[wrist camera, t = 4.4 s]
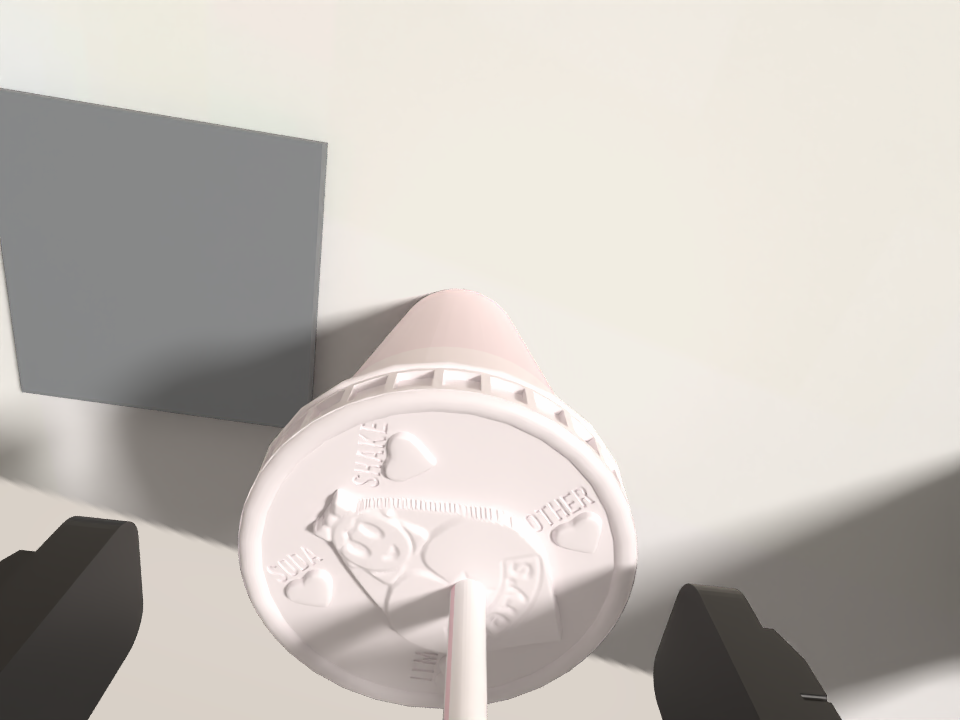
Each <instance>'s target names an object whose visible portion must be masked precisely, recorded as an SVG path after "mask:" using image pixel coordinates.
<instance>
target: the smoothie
mask: <svg viewBox="0 0 960 720" xmlns="http://www.w3.org/2000/svg"><path fill="white" fill-rule="evenodd" d="M637 555H638V549H637V535H636V530H635V524H634V519H633V516H632V513H631V510H630V507H629V502H628V499H627V495H626V492H625V489H624V485H623V482H622V478H621V475H620V472H619V468H618V465H617V462H616V461H615V459H614V458H613V456H612V455H611V453H610V452H609V450H608V449H607V447H606V446H605V444H604V443H603V441H602V440H601V438H600V437H599V436H598V434H597V433H596V431H595V430H594V428H593V427H592V425H591V424H590V423H589V422H588V421H586V420H585V419H584V418H583V417H581V416H580V415H579V414H578V413H577V412H575V411H574V410H573V409H572V408H571V407H569V406H568V405H567V404H566V403H564V402H563V401H562V400H561V399H560V398H558V397H557V396H556V395H555V394H554V392H553V390H552V388H551V387H550V385H549V383H548V382H547V380H546V378H545V377H544V375H543V373H542V371H541V370H540V368H539V366H538V365H537V363H536V361H535V360H534V358H533V356H532V355H531V353H530V351H529V349H528V348H527V346H526V344H525V343H524V341H523V339H522V338H521V336H520V334H519V333H518V331H517V329H516V327H515V326H514V324H513V322H512V321H511V319H510V317H509V316H508V314H507V313H506V312H505V310H504V309H503V308H502V307H501V306H500V305H499V304H497V303H496V302H495V301H493V300H492V299H490V298H489V297H487V296H485V295H483V294H481V293H478V292H475V291H471V290H465V289H448V290H442V291H438V292H435V293H432V294H430V295H428V296H426V297H425V298H423V299H421V300H420V301H419V302H417V303H416V304H415V305H414V306H413V307H412V308H411V309H410V310H409V311H408V312H407V314H406V315H405V316H404V317H403V318H402V319H401V321H400V322H399V323H398V324H397V325H396V326H395V328H394V329H393V330H392V331H391V332H390V333H389V335H388V336H387V337H386V338H385V339H384V340H383V342H382V343H381V344H380V345H379V346H378V347H377V349H376V350H375V351H374V352H373V353H372V354H371V356H370V357H369V358H368V359H367V360H366V361H365V363H364V364H363V365H362V366H361V367H360V369H359V370H358V371H357V372H356V373H355V374H354V376H353V377H352V378H350V379H347V380H344V381H342V382H340V383H339V384H337V385H336V386H334V387H333V388H331V389H330V390H328V391H327V392H325V393H323V394H322V395H320V396H319V397H317V398H316V399H314V400H313V401H311V402H310V403H308V404H306V405H305V406H303V407H302V408H301V409H300V410H299V411H298V412H297V413H296V414H295V416H294V417H293V418H292V419H291V420H290V422H289V423H288V424H287V425H286V426H285V427H284V429H283V430H282V431H281V432H280V433H279V434H278V436H277V437H276V438H275V439H274V440H273V441H272V443H271V444H270V446H269V449H268V451H267V453H266V456H265V458H264V461H263V463H262V465H261V468H260V470H259V473H258V475H257V477H256V480H255V482H254V483H253V485H252V487H251V489H250V491H249V494H248V496H247V499H246V501H245V504H244V507H243V511H242V515H241V519H240V525H239V533H238V556H239V563H240V570H241V574H242V578H243V582H244V585H245V588H246V590H247V593H248V596H249V598H250V600H251V602H252V604H253V606H254V608H255V610H256V612H257V614H258V615H259V617H260V618H261V620H262V621H263V623H264V624H265V626H266V627H267V628H268V630H269V631H270V632H271V633H272V634H273V636H274V637H275V638H276V639H277V640H278V641H279V642H280V643H281V644H282V645H283V647H285V649H286V650H287V651H288V652H289V653H291V654H292V655H293V656H294V657H296V658H297V659H298V660H299V661H301V662H302V663H303V664H305V665H306V666H307V667H308V668H310V669H311V670H312V671H314V672H315V673H317V674H319V675H321V676H323V677H324V678H326V679H328V680H330V681H332V682H334V683H335V684H337V685H339V686H341V687H343V688H345V689H348V690H351V691H354V692H356V693H359V694H362V695H364V696H367V697H370V698H373V699H376V700H380V701H385V702H391V703H395V704H400V705H405V706H411V707H425V708H426V707H427V708H442V709H444V710H443V720H487V704H489V703H494V702H498V701H503V700H508V699H511V698H514V697H517V696H519V695H522V694H525V693H527V692H530V691H532V690H535V689H538V688H540V687H542V686H544V685H546V684H548V683H549V682H551V681H553V680H555V679H557V678H558V677H560V676H562V675H563V674H565V673H567V672H569V671H570V670H571V669H572V668H574V667H575V666H576V665H578V664H579V663H580V662H582V661H583V660H584V659H585V658H586V657H587V656H589V655H590V654H591V653H592V652H593V651H594V650H595V649H596V648H597V647H598V646H599V645H600V644H601V642H602V641H603V640H604V639H605V638H606V637H607V635H608V634H609V633H610V631H611V630H612V629H613V627H614V626H615V624H616V623H617V621H618V619H619V618H620V616H621V614H622V612H623V611H624V608H625V606H626V604H627V602H628V599H629V597H630V594H631V590H632V587H633V584H634V579H635V574H636V569H637Z"/></svg>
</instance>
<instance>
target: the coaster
mask: <svg viewBox="0 0 960 720" xmlns="http://www.w3.org/2000/svg"><path fill="white" fill-rule="evenodd" d="M327 147H328V143H325V142H319V141H313V140H307V139H301V138H295V137H289V136H283V135H277V134H271V133H266V132H260V131H254V130H248V129H242V128H236V127H230V126H224V125H218V124H212V123H206V122H200V121H194V120H188V119H182V118H176V117H170V116H164V115H158V114H152V113H146V112H140V111H134V110H128V109H122V108H117V107H111V106H105V105H99V104H93V103H87V102H81V101H75V100H69V99H63V98H57V97H51V96H45V95H39V94H33V93H27V92H21V91H15V90H9V89H3V88H0V240H1V247H2V254H3V261H4V268H5V276H6V283H7V290H8V297H9V304H10V311H11V318H12V325H13V332H14V339H15V346H16V353H17V360H18V367H19V375H20V382H21V389H22V392H26V393H33V394H40V395H47V396H55V397H62V398H69V399H77V400H84V401H91V402H99V403H106V404H113V405H120V406H128V407H135V408H142V409H150V410H157V411H164V412H172V413H179V414H186V415H193V416H201V417H208V418H215V419H223V420H230V421H237V422H245V423H252V424H259V425H266V426H274V427H281V428H284V427H285V426H286V425H287V424H288V423H289V422H290V420H291V419H292V418H293V417H294V416H295V414H296V413H297V412H298V411H299V410H300V409H301V408H302V407H303V406H305V405H306V404H308V403H310V402H311V401H312V392H313V375H314V359H315V343H316V326H317V310H318V294H319V277H320V261H321V245H322V228H323V212H324V196H325V179H326V163H327Z"/></svg>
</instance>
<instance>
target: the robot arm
mask: <svg viewBox="0 0 960 720" xmlns="http://www.w3.org/2000/svg"><path fill="white" fill-rule="evenodd" d="M142 613H143V594H142V580H141V566H140V552H139V539H138V531H137V527H136V526H135V524H134V523H133V522H127V521H119V520H110V519H101V518H91V517H82V516H74V517H71V518H69V519H68V520H66V521H65V522H64V523H63V524H62V525H61V526H60V527H59V528H58V529H57V530H56V531H55V532H54V533H53V534H52V535H51V536H50V537H49V538H48V539H47V540H46V541H45V542H44V544H43V545H42V546H41V547H40V548H39V549H38V550H37V551H36V552H34V551H25V550H19V551H17V552H16V553H14V554H12V555H11V556H9V557H7V558H5V559H3V560H2V561H1V562H0V720H88V719H89V717H90V715H91V714H92V712H93V710H94V709H95V707H96V705H97V704H98V702H99V701H100V699H101V697H102V696H103V694H104V692H105V691H106V689H107V687H108V686H109V684H110V683H111V681H112V679H113V678H114V676H115V674H116V673H117V671H118V670H119V668H120V666H121V665H122V663H123V661H124V660H125V658H126V657H127V655H128V653H129V651H130V650H131V648H132V646H133V644H134V641H135V639H136V636H137V633H138V630H139V627H140V623H141V618H142ZM653 677H654V690H655V695H656V700H657V704H658V707H659V710H660V713H661V716H662V719H663V720H842V719H841V718H840V716H839V714H838V713H837V711H836V710H835V708H834V706H833V705H832V703H829V702H827V698H826V697H827V695H826V693H825V692H824V690H823V688H822V687H821V685H820V684H819V682H818V680H817V679H816V677H815V675H814V674H813V672H812V671H811V669H810V667H809V666H808V664H807V663H806V661H805V660H804V659H803V658H802V657H801V656H800V655H799V654H798V653H797V652H796V651H795V650H794V649H793V648H792V647H791V646H790V645H789V644H788V643H787V642H786V641H785V640H784V639H783V638H782V637H781V636H780V635H779V634H778V633H777V632H776V631H775V630H774V629H767V628H762V626H761V624H760V622H759V621H758V619H757V617H756V615H755V614H754V612H753V610H752V608H751V607H750V605H749V603H748V602H747V600H746V598H745V597H744V595H743V594H742V593H741V592H740V591H739V590H737V589H734V588H725V587H716V586H706V585H697V584H685V585H684V586H683V587H682V588H681V589H680V591H679V593H678V596H677V599H676V601H675V604H674V607H673V610H672V612H671V615H670V618H669V621H668V623H667V626H666V629H665V632H664V634H663V637H662V640H661V643H660V645H659V648H658V651H657V654H656V657H655V662H654V673H653Z"/></svg>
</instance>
